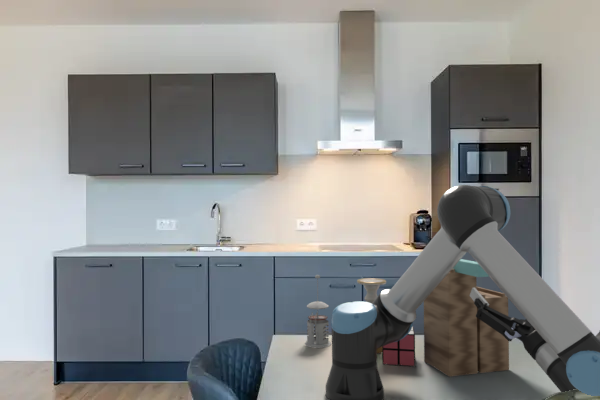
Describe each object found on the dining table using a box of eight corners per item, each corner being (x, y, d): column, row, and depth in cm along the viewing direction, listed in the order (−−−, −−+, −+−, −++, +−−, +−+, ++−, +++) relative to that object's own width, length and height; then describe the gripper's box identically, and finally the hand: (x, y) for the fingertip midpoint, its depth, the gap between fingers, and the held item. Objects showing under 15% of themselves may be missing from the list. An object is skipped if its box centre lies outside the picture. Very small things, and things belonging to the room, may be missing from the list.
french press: (334, 341, 170) (333, 273, 171) (326, 350, 159) (326, 277, 160) (308, 339, 173) (308, 272, 174) (299, 347, 162) (299, 276, 163)
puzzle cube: (415, 367, 142) (415, 334, 143) (382, 364, 144) (382, 332, 145) (413, 356, 152) (413, 326, 152) (383, 354, 154) (382, 324, 154)
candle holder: (350, 346, 164) (350, 279, 164) (376, 342, 168) (375, 277, 169) (367, 355, 154) (367, 283, 154) (394, 350, 158) (393, 281, 159)
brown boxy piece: (449, 376, 134) (448, 269, 134) (424, 361, 147) (423, 264, 148) (509, 369, 139) (507, 267, 140) (479, 355, 153) (478, 262, 153)
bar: (488, 276, 127) (488, 263, 127) (477, 277, 126) (477, 264, 126) (441, 266, 150) (441, 255, 150) (431, 266, 149) (431, 256, 149)
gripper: (496, 367, 103) (449, 303, 121) (585, 358, 110) (528, 298, 128) (507, 343, 100) (457, 281, 118) (599, 334, 106) (538, 277, 124)
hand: (494, 290), depth 123 cm, fingers open, 13 cm apart
